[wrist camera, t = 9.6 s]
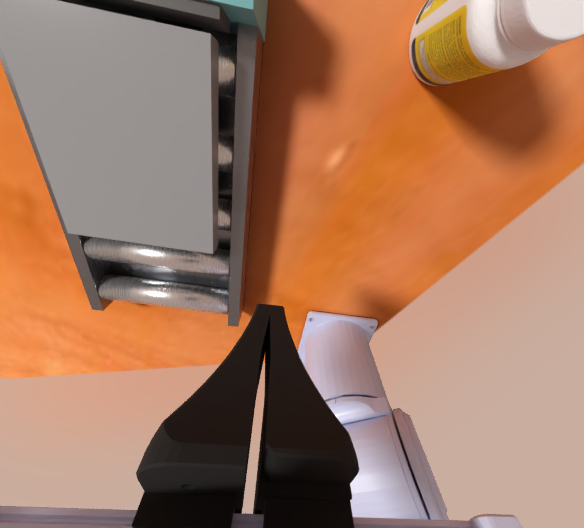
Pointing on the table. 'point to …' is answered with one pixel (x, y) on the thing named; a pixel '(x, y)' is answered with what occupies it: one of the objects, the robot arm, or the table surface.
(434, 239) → the table surface
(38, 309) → the table surface
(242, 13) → the end stop
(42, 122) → the slab
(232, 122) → the roller bed
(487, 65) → the supplement bottle
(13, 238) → the table surface
